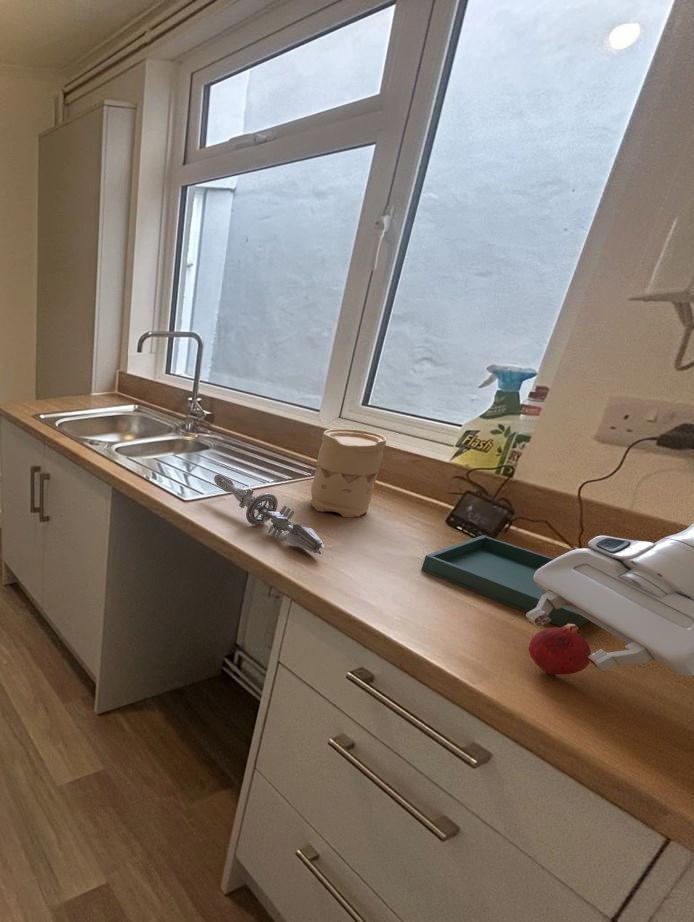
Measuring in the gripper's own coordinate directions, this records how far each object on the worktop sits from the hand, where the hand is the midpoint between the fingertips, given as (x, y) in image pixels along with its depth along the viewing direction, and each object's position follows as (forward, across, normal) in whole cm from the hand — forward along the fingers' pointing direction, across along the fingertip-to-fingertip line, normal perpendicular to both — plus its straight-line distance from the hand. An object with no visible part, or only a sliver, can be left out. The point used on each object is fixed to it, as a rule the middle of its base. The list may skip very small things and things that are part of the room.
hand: (561, 641), depth 70 cm
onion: (+4, 0, -4) cm, 5 cm away
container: (+3, +60, -5) cm, 60 cm away
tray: (-7, +24, -14) cm, 29 cm away
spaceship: (+19, +48, +11) cm, 53 cm away
